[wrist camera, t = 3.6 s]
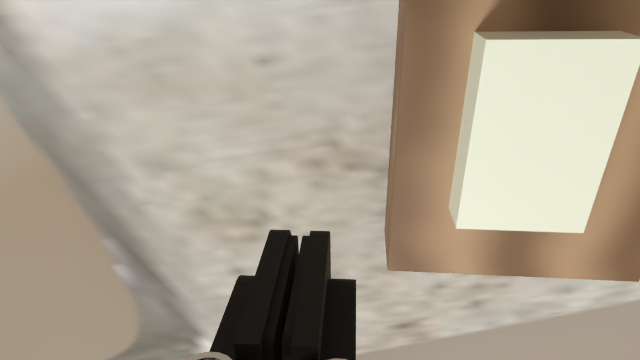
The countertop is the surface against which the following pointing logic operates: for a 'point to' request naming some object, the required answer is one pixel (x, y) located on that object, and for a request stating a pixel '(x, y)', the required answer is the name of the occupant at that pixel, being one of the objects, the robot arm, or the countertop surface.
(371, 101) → the countertop surface
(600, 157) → the cream rectangular block
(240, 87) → the countertop surface
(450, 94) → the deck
